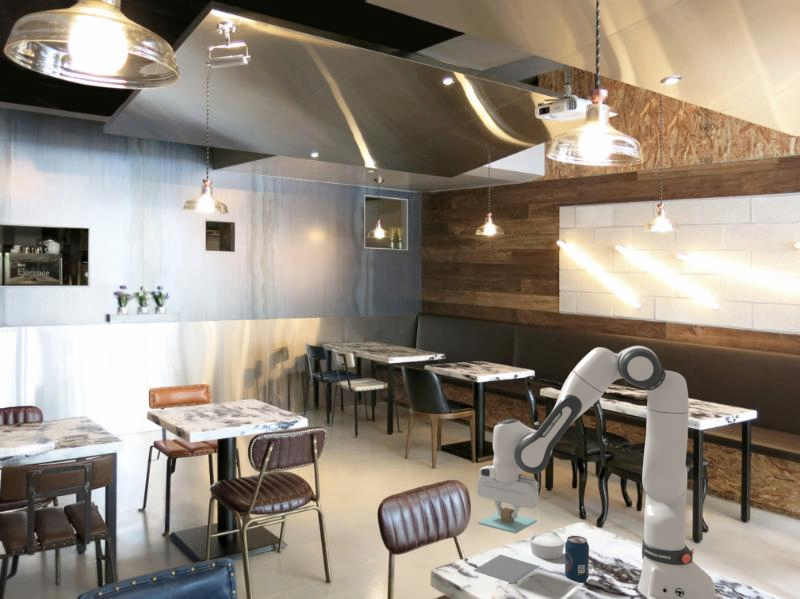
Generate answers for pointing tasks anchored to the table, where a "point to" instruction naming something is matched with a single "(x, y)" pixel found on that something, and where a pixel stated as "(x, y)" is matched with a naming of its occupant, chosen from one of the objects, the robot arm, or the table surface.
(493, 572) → the mat
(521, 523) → the cover sheet
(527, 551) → the table surface
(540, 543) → the ramekin
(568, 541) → the soda can
